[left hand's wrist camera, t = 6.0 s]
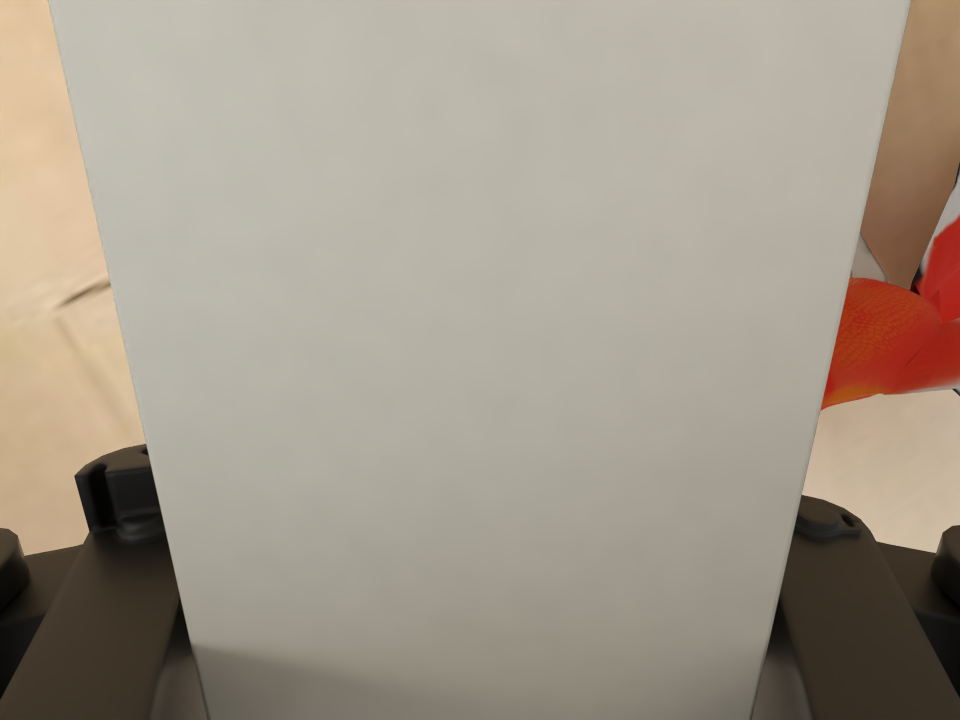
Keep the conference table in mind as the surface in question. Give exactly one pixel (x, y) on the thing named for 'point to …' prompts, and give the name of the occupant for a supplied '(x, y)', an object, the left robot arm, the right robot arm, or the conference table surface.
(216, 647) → the bar
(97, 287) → the conference table surface
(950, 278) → the fish
